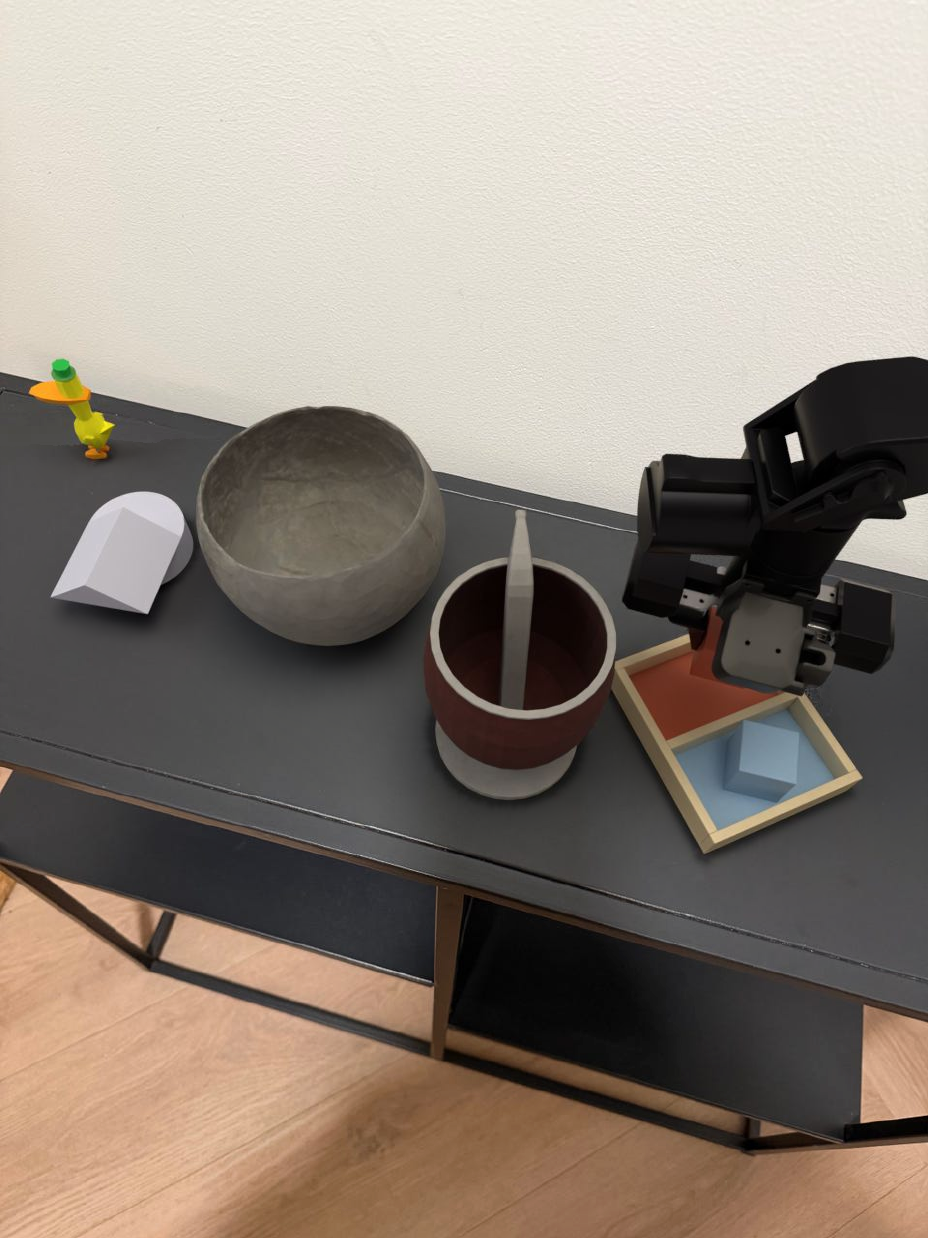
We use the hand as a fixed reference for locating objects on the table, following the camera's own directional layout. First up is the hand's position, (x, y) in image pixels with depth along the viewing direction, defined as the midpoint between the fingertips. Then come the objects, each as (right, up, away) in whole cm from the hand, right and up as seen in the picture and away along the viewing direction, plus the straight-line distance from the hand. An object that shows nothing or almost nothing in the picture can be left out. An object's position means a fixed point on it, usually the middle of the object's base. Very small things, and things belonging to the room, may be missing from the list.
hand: (723, 653), depth 68 cm
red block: (0, 0, +1) cm, 1 cm away
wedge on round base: (-52, +8, +12) cm, 54 cm away
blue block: (+3, -10, +2) cm, 11 cm away
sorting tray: (+1, -7, +5) cm, 9 cm away
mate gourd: (-17, -6, +5) cm, 19 cm away
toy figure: (-59, +20, +19) cm, 66 cm away
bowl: (-33, +6, +12) cm, 36 cm away
